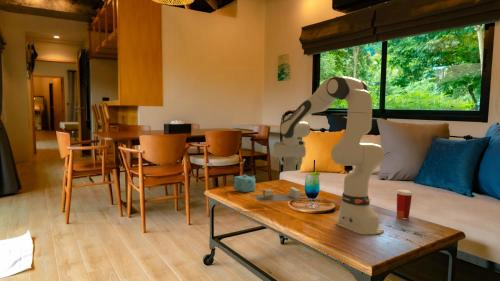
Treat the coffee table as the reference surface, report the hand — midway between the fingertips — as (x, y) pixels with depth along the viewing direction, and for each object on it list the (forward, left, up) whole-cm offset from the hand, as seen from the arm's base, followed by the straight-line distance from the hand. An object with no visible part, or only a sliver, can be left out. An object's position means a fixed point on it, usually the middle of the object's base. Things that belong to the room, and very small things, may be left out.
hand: (288, 164), depth 201 cm
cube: (0, +13, -20) cm, 24 cm away
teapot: (+21, +21, -21) cm, 36 cm away
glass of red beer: (-46, -45, -21) cm, 68 cm away
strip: (0, +7, -21) cm, 22 cm away
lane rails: (0, +2, -21) cm, 21 cm away
